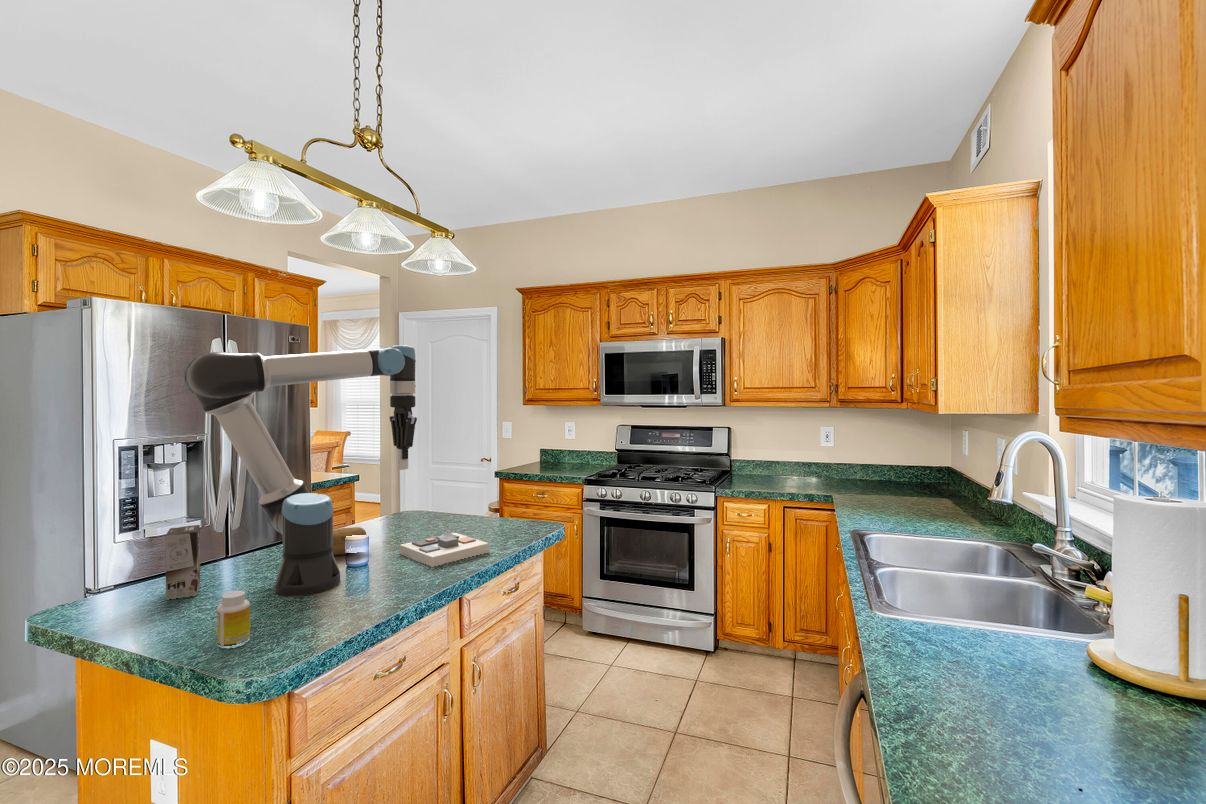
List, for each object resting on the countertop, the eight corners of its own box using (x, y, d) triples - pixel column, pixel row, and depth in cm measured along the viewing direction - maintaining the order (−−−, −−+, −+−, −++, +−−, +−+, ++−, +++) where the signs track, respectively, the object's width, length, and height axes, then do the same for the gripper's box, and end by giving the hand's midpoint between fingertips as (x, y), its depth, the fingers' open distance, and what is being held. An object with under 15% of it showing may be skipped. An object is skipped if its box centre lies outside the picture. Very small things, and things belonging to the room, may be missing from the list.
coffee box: (197, 596, 137) (197, 531, 136) (164, 601, 133) (164, 535, 133) (201, 585, 145) (200, 524, 144) (170, 589, 141) (169, 527, 141)
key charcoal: (445, 551, 169) (445, 541, 169) (438, 548, 172) (438, 538, 172) (458, 548, 172) (458, 538, 172) (450, 545, 175) (450, 536, 175)
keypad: (432, 567, 160) (432, 553, 160) (399, 554, 172) (399, 541, 172) (488, 552, 175) (488, 539, 175) (454, 541, 187) (454, 529, 187)
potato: (317, 552, 174) (317, 527, 174) (365, 547, 180) (365, 523, 180) (316, 561, 165) (316, 534, 165) (367, 555, 171) (367, 530, 171)
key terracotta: (463, 551, 174) (463, 542, 174) (456, 548, 177) (456, 539, 177) (475, 548, 177) (475, 539, 177) (467, 545, 180) (467, 536, 180)
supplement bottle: (256, 640, 113) (256, 590, 113) (231, 652, 108) (231, 600, 107) (236, 636, 115) (235, 587, 114) (210, 648, 109) (209, 597, 109)
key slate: (426, 560, 164) (426, 550, 164) (419, 557, 167) (419, 548, 167) (439, 557, 167) (439, 547, 167) (432, 554, 170) (432, 545, 170)
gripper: (424, 395, 172) (424, 470, 173) (403, 394, 181) (403, 466, 181) (402, 395, 167) (402, 472, 167) (381, 394, 175) (381, 468, 176)
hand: (403, 469), depth 174 cm, fingers closed
